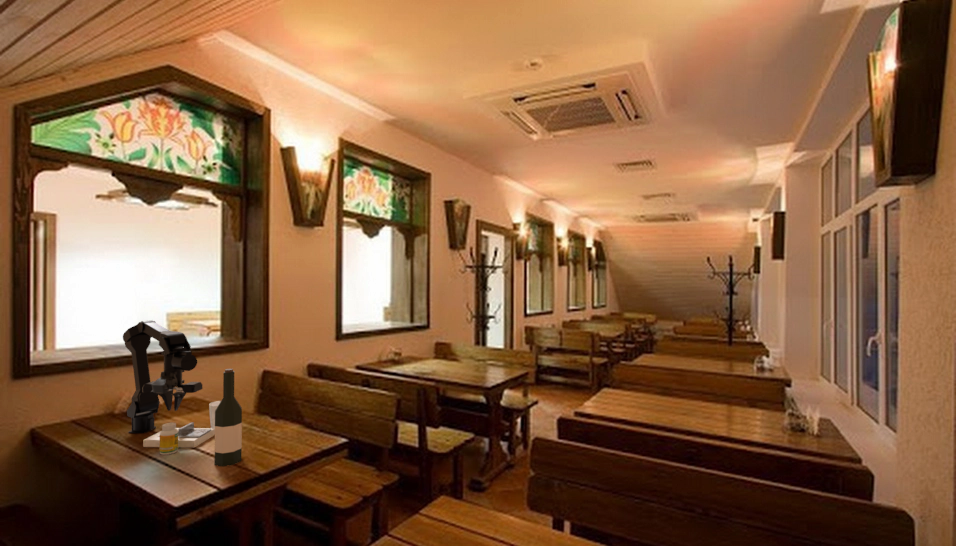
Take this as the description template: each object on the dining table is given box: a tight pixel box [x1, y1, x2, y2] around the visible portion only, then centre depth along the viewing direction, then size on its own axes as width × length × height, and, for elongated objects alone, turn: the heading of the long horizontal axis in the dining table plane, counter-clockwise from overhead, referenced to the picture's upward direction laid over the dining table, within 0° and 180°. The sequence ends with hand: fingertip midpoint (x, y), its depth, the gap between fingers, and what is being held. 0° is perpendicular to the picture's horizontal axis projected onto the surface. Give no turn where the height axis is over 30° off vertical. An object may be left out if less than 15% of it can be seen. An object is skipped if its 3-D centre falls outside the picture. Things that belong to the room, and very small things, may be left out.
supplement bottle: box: [159, 422, 179, 456], centre depth 163 cm, size 5×5×10 cm
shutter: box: [178, 421, 211, 438], centre depth 174 cm, size 8×8×3 cm
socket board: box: [142, 427, 215, 448], centre depth 174 cm, size 18×13×2 cm
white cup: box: [208, 399, 222, 428], centre depth 188 cm, size 8×8×10 cm
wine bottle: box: [214, 368, 243, 467], centre depth 156 cm, size 8×8×30 cm
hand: (172, 410), depth 174 cm, fingers open, 2 cm apart
